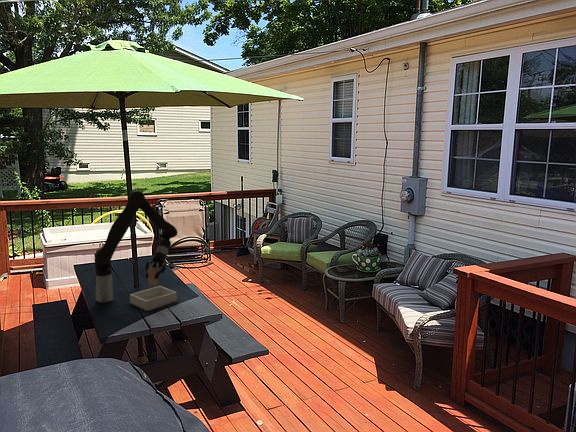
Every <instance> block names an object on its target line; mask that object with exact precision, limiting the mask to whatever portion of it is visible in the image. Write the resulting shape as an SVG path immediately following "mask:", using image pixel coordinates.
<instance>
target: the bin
mask: <svg viewBox="0 0 576 432" xmlns="http://www.w3.org/2000/svg"><path fill="white" fill-rule="evenodd" d="M175 302H178V292H177V291H175V290H172V289H170V288H167V287H164V286H163V285H157V286H154V287H151V288H148V289H145V290H139V291H136V292H134V293H131V294H129V304H131V305H133V306H135V307H137V308H139V309H141V310H144V311H146V312H147V311H152V310H154V309H157V308H160V307H163V306H166V305H169V304H172V303H173V304H174V303H175Z"/></svg>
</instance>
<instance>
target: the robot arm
mask: <svg viewBox="0 0 576 432" xmlns="http://www.w3.org/2000/svg"><path fill="white" fill-rule="evenodd" d="M139 209H140V210H141V211H142V212H143V213H144V214H145V215H146V217H147V218H148V219H149V221H150V222H151V223H152V224H153V225H154V226H155V227H156V229H159V230H162V232H161V234H160V242H159V244H158V246H157V248H156V250H155V252H154V254H153V257H152V260H151V262H148V261H146V263H145V268H144V271H146V273H145V278H146V279H148V268H150V267H157V273H156V275H155V279H159V277H160V275H161V274H162V275H163V274H164V272H165V271H166V269H167V267H168V265H167V263H166V259H167V258H168V257H167V256H168V254H169V251H170V248H171V247H172V245H171V244H172V242H171V239H172V238H175V237H177V236H178V230H177V228H176V226H174V225H173V224H171V223H170V222H168V221H167V220H166V219H165V218H164V217H163V216H162V215H161V214H160V212H158V211H157V210H156V209H155V208H154V207H153V206H152V205H151V204H150V203H149V202H148V200H147V199H146V196H145V193H143V192H142V191H141V190H140V189H133V190H131V191H130V192H129V193H128V201H127V203H126V206H125V207H124V209H123V210H122V211H121V212H120V214H119V215H117V217H116V218H115V220H114V222H113V223H112V225H111V227H110V228H109V231H108V234H107V236H106V237H107V238H106V240H105V241H104V244H103V245H102V247H101V248H98V249H96V251H95V252H94V266H95V267H94V269H95V278H96V279H95V280H96V285H95V286H94V287H95V300H96V301H97V302H98V303H100V304H103V303H104V304H105V303H110V302H112V301H114V290H113V287H114V286H113V273H112V272H113V270H112V262H111V261H112V258H113V256H114V253H115V251H116V249H117V247H118V246H119V244H120V243H121V241H122V240H123V239H124V238H123V237H125V235H126V233H127V232H128V230H129V228H130V226H131V224H132V221H133V219H134V218H135V216H136V213H137V212H139Z"/></svg>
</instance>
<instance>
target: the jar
mask: <svg viewBox="0 0 576 432" xmlns="http://www.w3.org/2000/svg"><path fill="white" fill-rule="evenodd" d="M156 273H157V267H150V268H148V278H147V279H148V280H147V281H148V285H149V286H156V285H157V286H158V284H159V280H158V279H159V278H158V279H155V275H156Z"/></svg>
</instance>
